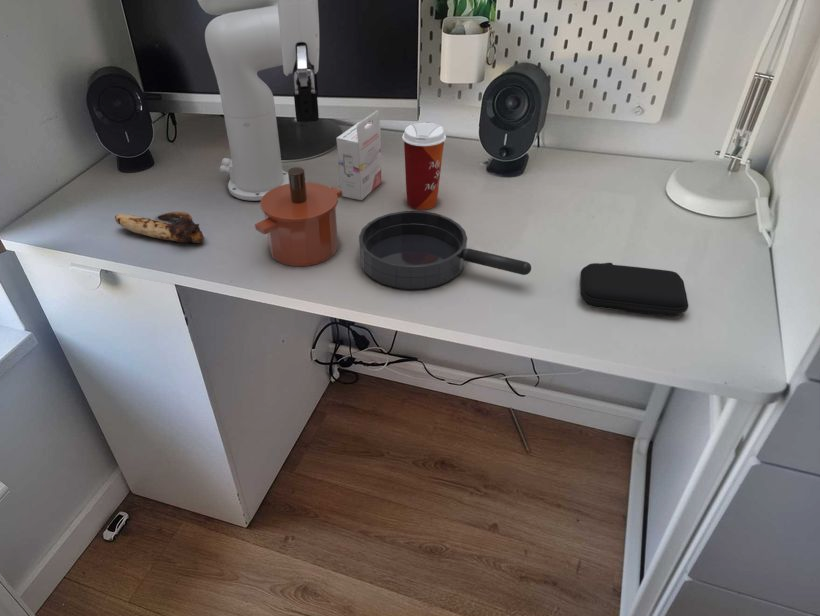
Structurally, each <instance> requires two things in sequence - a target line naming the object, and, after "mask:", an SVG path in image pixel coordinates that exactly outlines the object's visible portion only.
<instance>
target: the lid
mask: <svg viewBox="0 0 820 616" xmlns="http://www.w3.org/2000/svg"><path fill="white" fill-rule="evenodd" d="M287 173H288V178H289V184H285V185H282V186H279V187H276V188H274V189H272V190H270V191H269V192H267V193H266V194H265V195H264V196H263V197H262V199H261V200H260V203H259V205H260V209H261V211H262V213H263V215H264V214H265V215H267V216H268V217H270V218H272V219H275V220H279V221H284V222H305V221H311V220H315V219H318V218H321V217H323V216H325V215H327V214H329V213H330V212H332V211H333V210H334V209H335V207H336V208H337V205H338V204H339V203H338V202H339V198H338V196H337V194H336V192H335V191H334V190H333V189H331V186H327V185H325V184H321V183H319V182H311V181H309V182H308V181H306V173H305V169H304V168H302V167H292V168H289V169H288V170H287ZM265 215H264V216H265Z"/></svg>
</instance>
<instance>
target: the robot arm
mask: <svg viewBox="0 0 820 616" xmlns="http://www.w3.org/2000/svg"><path fill="white" fill-rule="evenodd" d="M196 1H197V2H198V5H199V7H200V8H201V9H202V11H204V12H205V14H208V15H212V16H215V18H213V19H212V20H210V21H209V23H208V24H207V26H206V27H205V31H204V42H205V47H206V50H207V54H208V57H209V60H210V63H211V66H212V69H213V71H214V72H213V73H214V76H215V79H216V83H217V86H218V91H219V97H220V102H221V108H222V112H223V118H224V124H225V130H226V136H227V141H228V149H229V153H230V158H228V157H224V158H223V159H221V165H220V167H219V172H220V173H223V174H228V175H229V177H230V179H229V181H228V184H227V188H228V191H229V193H230V194H231V196H233V197H235V198H237V199H239V200H244V201H249V202H250V201H251V202H258V201H260V202H261V199H262V197H263V196H264V195H265V194H266V193H267V192H269V191H270V190H272V189H274V188H276V187H279V186H282V185H285V184H289V178H288V171H285V170H283V163H282V154H281V146H280V138H279V129H278V121H277V114H276V113H277V111H276V105H275V97H274V94H273V92H272V90H271V88H270V87H269V85H267V83H266V82H264V81H263V80H262V78H260V77H259V75H258V72H260V71H263V70H266V69H271V68H276V67H280V66H282V68H283V74H284V75H285V76H286V77H288V76H289V75H290V74H293V82H294V83H293V85H294V92H293V101H294V110H295V111H294V112H295V120H296V122H297V123H311V122H312V123H314V122H319V120H320V116H319V115H320V114H319V101H318V100H319V99H318V96H319V90H318V88H319V87H318V77H317V76H318V75H317V73H318V72H319V66H320V17H319V16H320V15H319V0H196Z"/></svg>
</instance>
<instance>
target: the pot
mask: <svg viewBox="0 0 820 616" xmlns="http://www.w3.org/2000/svg"><path fill="white" fill-rule="evenodd" d="M330 188H331V189H333V190H334V191H335V192H336V194H337V196H338V199H339V198H341V197H343V196H342V191H341V190H340V188H336V187H335V186H330ZM336 209H337V206H336V207H335V209H334V210H333V211H332V212H330V213H329V214H327V215H325V216H323V217H321V218H318V219H315V220H311V221H305V222H284V221H279V220H275V219H272V218H270V217H268V216H267V215H265V214H264V213H263V216H264V219H263V220H261V221H259V222H256V223H254V229H255V230H256V231H257V232H259V233H261V234H263V235H266V236H267V241H268V242H267V243H268V250H269V251H270V255H271V257H272V258H273V259H274V260H276V261H277V263H281V264H283V265H286V266H292V267H309V266H314V265H319V264H321V263H324V262H326V261H328V260H330V259H331V258H333V256H334V255H335V254H336V252H337V250H338V248H339V246H338V245H339V241H338V224H337V222H338V221H337V210H336Z"/></svg>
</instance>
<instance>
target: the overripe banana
mask: <svg viewBox="0 0 820 616" xmlns="http://www.w3.org/2000/svg"><path fill="white" fill-rule="evenodd" d="M157 218H158V219H160V220H158V219H157V220H156V219H151V218H145V217H139V216H137V215H133V214H127V213H126V214H125V213H117V214H116V215H115V216H114V219H115V223H116V224H117V225H120V227H122V228H124V229H125V230H128V231H130V232H132V233H135V234H138V235H144V236H148V237H151V238H155V239H160V240H164V241H173V242H177V243H185V244H187V243H194V244H199V243H202V242H204V240H205V236H204V234H203V231H202V230H201V229H200V227H199V226H200V223H195V222H194V220H193V217H192V216H191V214H190V213H188V212H185V211H169V212H164V213H162V214H159V215H158V216H157ZM169 219H176V220H175V222H173V223H170V222H165V221H161V220H169Z"/></svg>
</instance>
